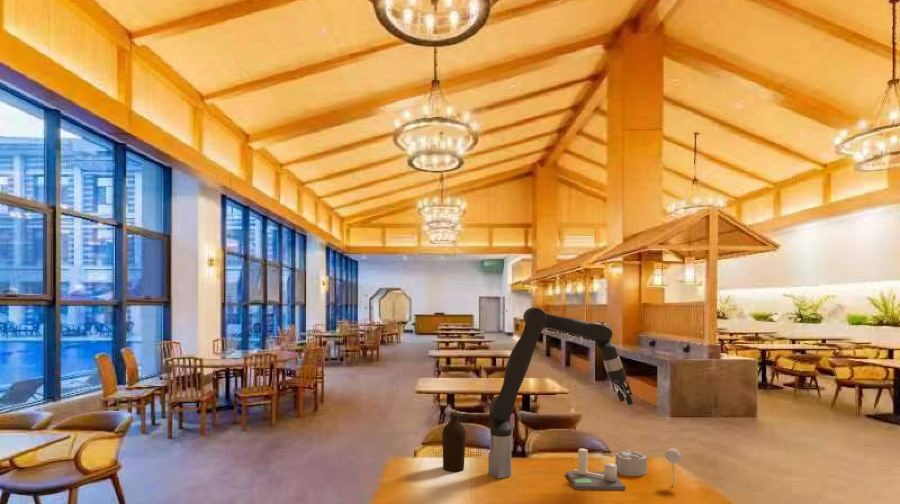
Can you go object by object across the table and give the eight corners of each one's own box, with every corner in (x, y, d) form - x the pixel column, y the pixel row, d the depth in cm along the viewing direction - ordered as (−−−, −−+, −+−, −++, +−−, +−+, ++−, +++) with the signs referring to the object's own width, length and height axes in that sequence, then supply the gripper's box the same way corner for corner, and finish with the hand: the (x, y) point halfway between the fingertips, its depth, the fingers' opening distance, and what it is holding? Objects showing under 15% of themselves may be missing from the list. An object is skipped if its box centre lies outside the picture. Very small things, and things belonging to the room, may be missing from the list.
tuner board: (576, 489, 216) (576, 485, 216) (566, 474, 234) (566, 470, 234) (625, 490, 216) (625, 486, 216) (611, 475, 234) (611, 471, 234)
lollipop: (680, 484, 224) (680, 447, 226) (682, 488, 219) (681, 451, 220) (665, 482, 226) (664, 446, 228) (665, 486, 221) (665, 449, 222)
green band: (589, 479, 224) (589, 478, 224) (592, 482, 220) (592, 482, 220) (572, 479, 223) (572, 479, 223) (576, 483, 219) (576, 482, 219)
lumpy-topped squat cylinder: (613, 468, 244) (613, 449, 245) (641, 468, 245) (640, 448, 246) (622, 476, 234) (622, 455, 234) (651, 475, 235) (651, 455, 235)
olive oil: (465, 473, 234) (466, 414, 236) (441, 472, 234) (442, 414, 236) (465, 465, 244) (466, 409, 246) (442, 464, 245) (443, 409, 247)
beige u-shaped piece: (618, 479, 223) (618, 454, 224) (614, 482, 219) (614, 457, 220) (576, 470, 234) (576, 446, 235) (571, 473, 230) (571, 449, 231)
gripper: (600, 368, 246) (612, 402, 245) (613, 372, 232) (625, 408, 231) (615, 363, 247) (627, 397, 246) (628, 367, 233) (641, 402, 232)
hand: (626, 402), depth 239 cm, fingers open, 8 cm apart
